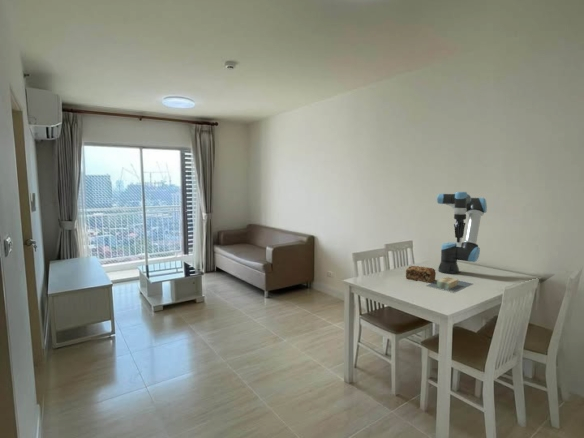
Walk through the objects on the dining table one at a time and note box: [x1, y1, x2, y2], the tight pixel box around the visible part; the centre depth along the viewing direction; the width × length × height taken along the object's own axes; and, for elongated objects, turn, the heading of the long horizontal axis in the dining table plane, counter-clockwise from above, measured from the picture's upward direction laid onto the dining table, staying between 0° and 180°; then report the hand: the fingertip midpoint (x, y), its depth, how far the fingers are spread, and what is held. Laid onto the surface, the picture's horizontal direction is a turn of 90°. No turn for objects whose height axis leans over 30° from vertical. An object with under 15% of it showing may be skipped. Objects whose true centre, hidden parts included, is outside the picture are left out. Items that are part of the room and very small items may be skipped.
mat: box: [425, 280, 473, 294], centre depth 236 cm, size 20×28×1 cm
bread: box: [405, 265, 437, 284], centre depth 250 cm, size 19×11×10 cm, turn 44°
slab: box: [436, 276, 459, 289], centre depth 233 cm, size 8×4×14 cm
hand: (458, 246), depth 240 cm, fingers closed
